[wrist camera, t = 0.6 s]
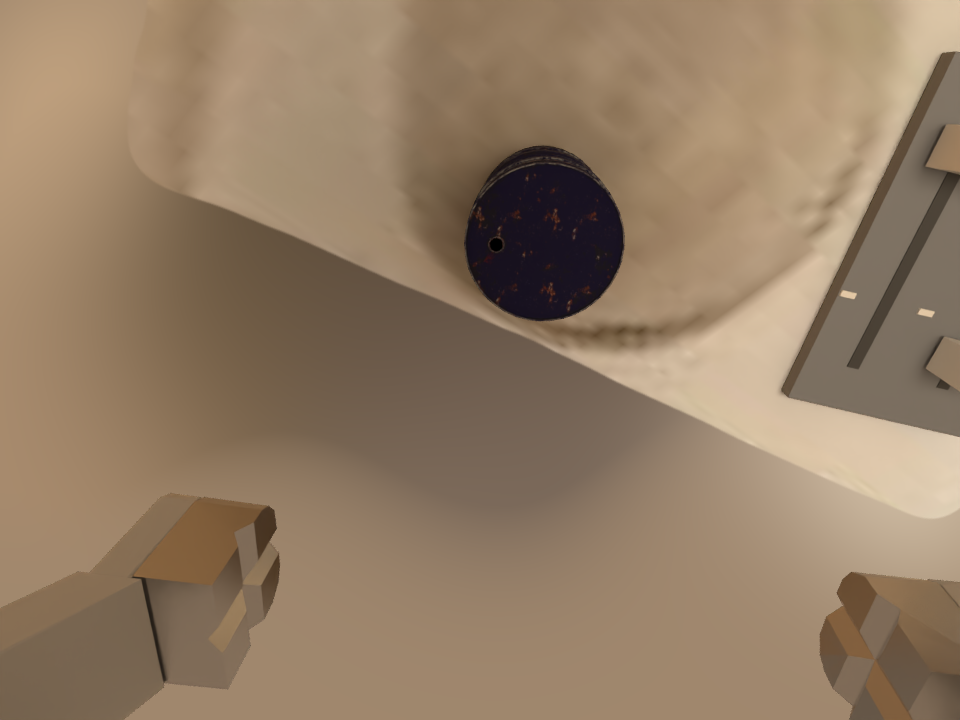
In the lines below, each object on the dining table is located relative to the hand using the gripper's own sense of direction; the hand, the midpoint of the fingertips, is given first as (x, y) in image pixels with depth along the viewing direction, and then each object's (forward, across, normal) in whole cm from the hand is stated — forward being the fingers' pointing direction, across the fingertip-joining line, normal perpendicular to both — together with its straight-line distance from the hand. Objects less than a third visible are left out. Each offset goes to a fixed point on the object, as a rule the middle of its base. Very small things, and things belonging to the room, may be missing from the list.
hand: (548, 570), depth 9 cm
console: (+44, -34, +4) cm, 56 cm away
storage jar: (+44, -1, +2) cm, 44 cm away
